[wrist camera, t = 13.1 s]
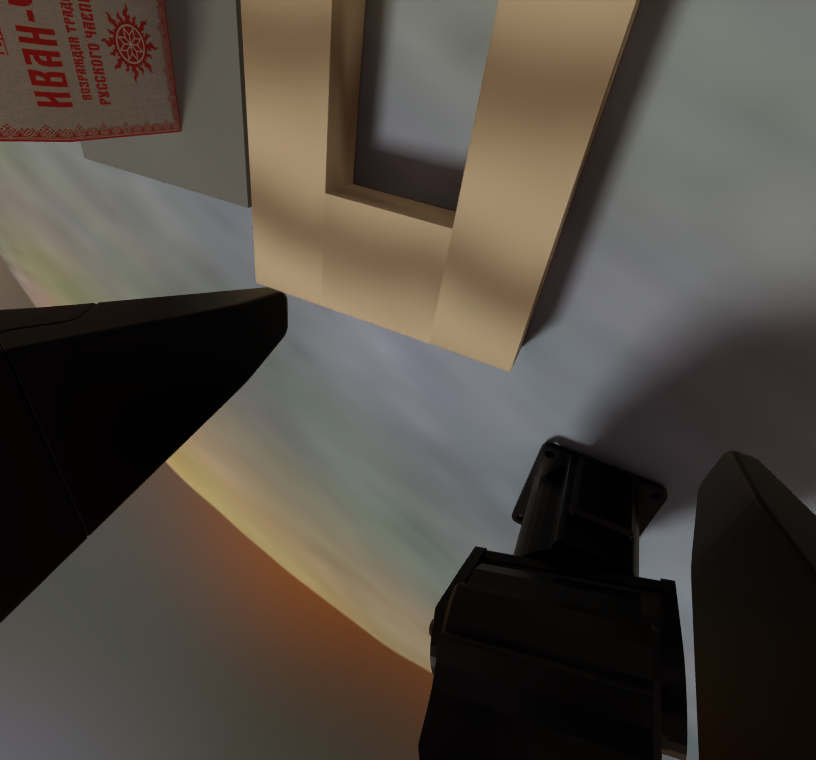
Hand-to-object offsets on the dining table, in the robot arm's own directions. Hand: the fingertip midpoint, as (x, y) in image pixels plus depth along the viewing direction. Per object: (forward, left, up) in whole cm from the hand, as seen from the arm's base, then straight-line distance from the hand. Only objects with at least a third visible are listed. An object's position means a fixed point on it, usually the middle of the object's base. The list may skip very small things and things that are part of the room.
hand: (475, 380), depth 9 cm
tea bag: (+3, +22, -13) cm, 25 cm away
